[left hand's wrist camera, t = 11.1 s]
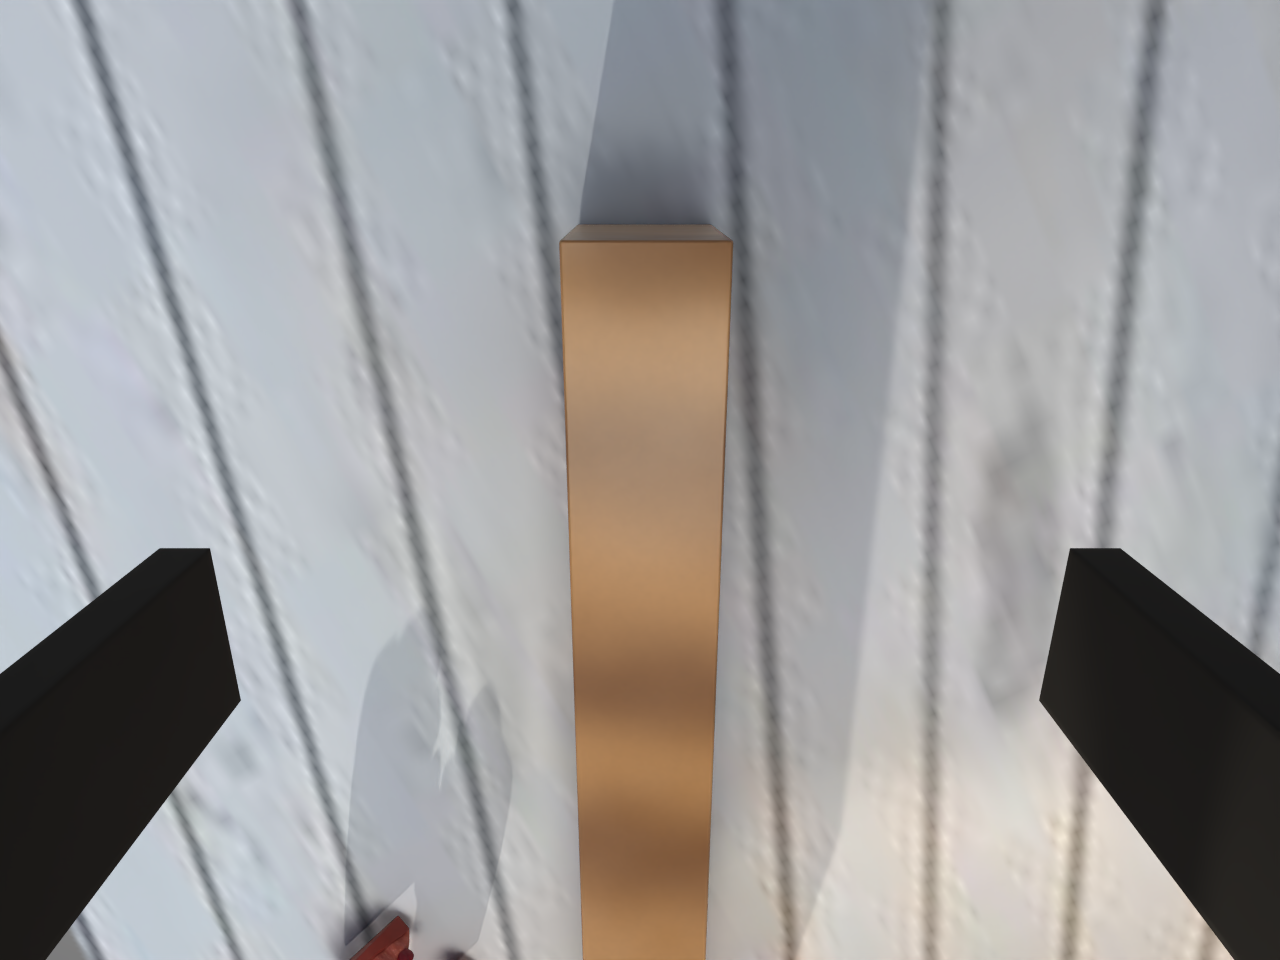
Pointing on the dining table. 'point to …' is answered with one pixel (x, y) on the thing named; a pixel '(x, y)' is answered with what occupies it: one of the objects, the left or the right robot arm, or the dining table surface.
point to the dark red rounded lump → (388, 944)
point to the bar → (645, 571)
